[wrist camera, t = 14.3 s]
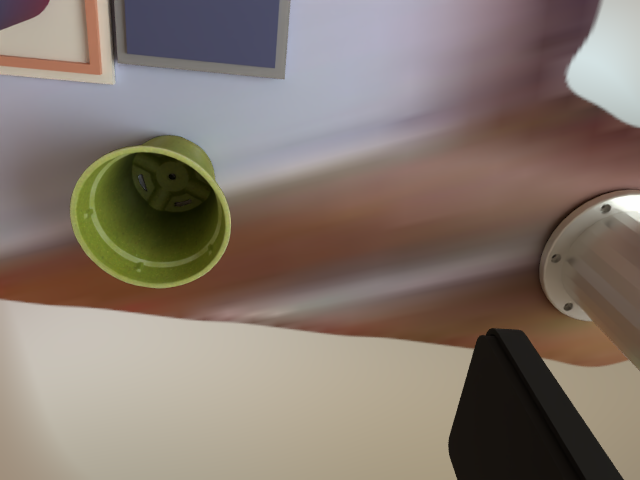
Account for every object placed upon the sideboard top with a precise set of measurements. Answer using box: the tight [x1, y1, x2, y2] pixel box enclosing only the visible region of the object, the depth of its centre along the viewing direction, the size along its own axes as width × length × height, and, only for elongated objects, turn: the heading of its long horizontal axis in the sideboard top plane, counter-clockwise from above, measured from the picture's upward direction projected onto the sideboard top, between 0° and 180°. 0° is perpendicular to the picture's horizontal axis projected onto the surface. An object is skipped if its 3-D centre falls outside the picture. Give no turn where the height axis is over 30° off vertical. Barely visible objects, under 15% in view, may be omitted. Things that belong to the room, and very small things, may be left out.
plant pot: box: [70, 135, 231, 288], centre depth 35 cm, size 9×9×9 cm
